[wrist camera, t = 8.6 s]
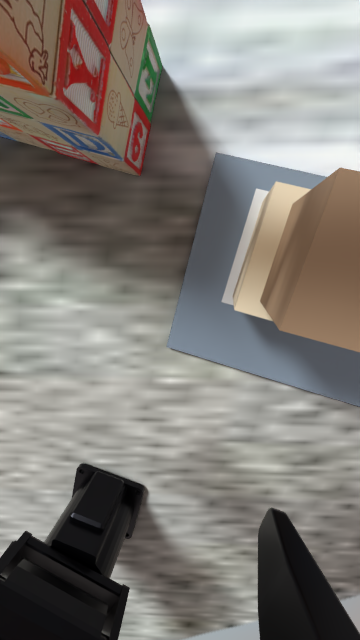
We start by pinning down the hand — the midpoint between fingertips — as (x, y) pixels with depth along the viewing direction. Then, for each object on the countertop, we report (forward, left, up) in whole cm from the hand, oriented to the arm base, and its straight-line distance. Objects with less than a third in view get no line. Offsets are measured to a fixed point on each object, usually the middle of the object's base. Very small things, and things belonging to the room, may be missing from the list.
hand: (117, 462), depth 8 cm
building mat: (+5, -6, -12) cm, 15 cm away
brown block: (+7, -6, -7) cm, 11 cm away
